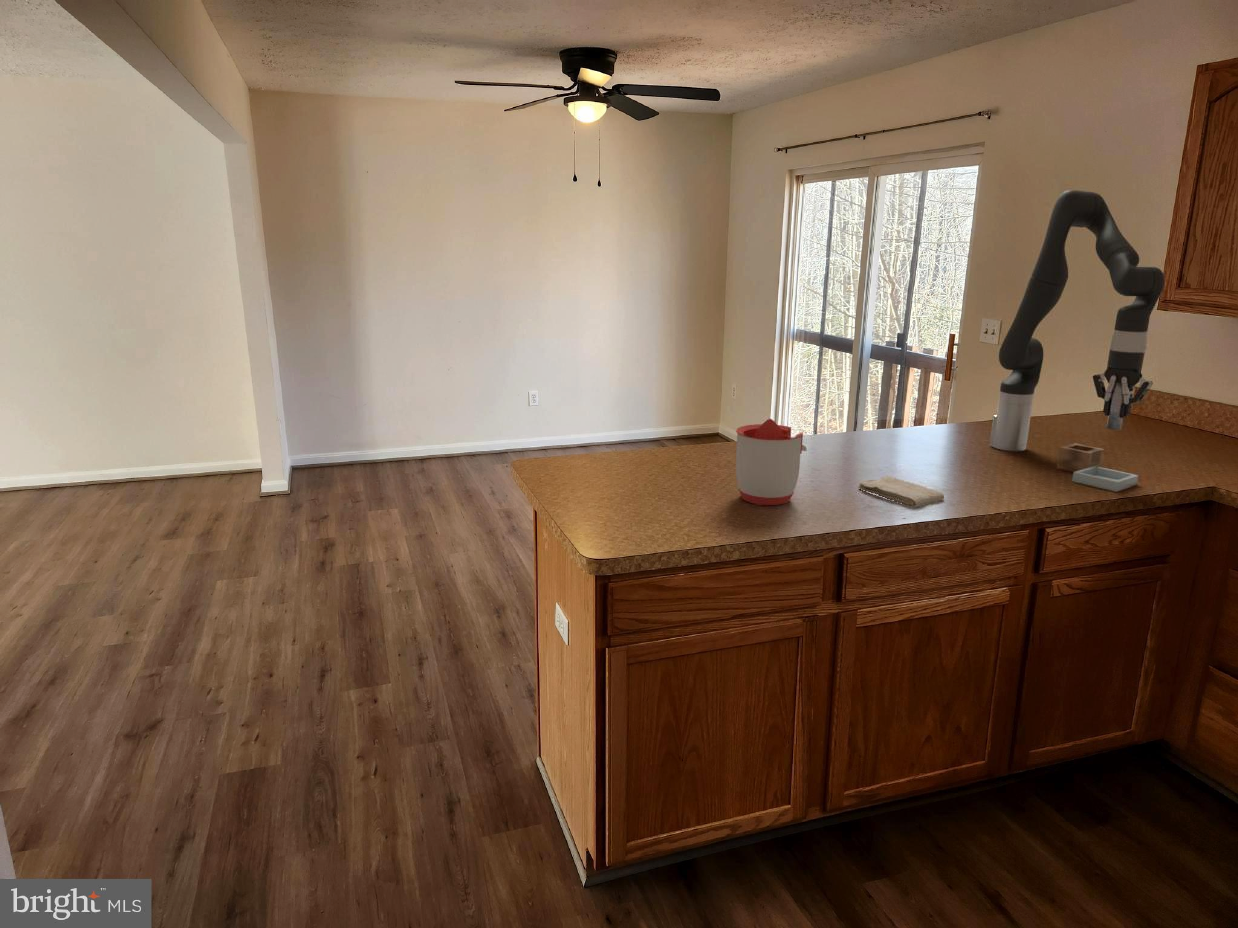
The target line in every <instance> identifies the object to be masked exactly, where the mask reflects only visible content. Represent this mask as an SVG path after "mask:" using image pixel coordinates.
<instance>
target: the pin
mask: <svg viewBox="0 0 1238 928" xmlns="http://www.w3.org/2000/svg"><path fill="white" fill-rule="evenodd" d="M1122 404H1124V395H1123V392H1122V383H1119V382H1115V385H1114V388H1113V393H1112V398H1111V404H1110V410H1109V416H1107V423H1106V429H1108V430H1113V431H1120V430H1122V426H1123V418H1120V415H1121V410H1122Z"/></svg>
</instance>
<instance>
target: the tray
mask: <svg viewBox="0 0 1238 928" xmlns="http://www.w3.org/2000/svg"><path fill="white" fill-rule="evenodd" d="M1071 480H1072V482H1075V483H1078V484H1082V485H1086V486H1091V487H1095V488H1099V489H1104V490H1108V491H1111V492H1115V493H1116V492H1119V491H1122V490H1126V489H1128V488H1132V487H1134V486H1137V485H1138V480H1139V475H1138V474H1133V473H1130V472H1125V471H1121V470H1115V469H1112V468H1111V469H1110V468H1106V467H1102V466H1101V467H1097V466H1092V467H1089V468H1086V469H1082V470H1079V471H1076V472H1073V473H1072V479H1071Z"/></svg>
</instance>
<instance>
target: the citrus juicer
mask: <svg viewBox="0 0 1238 928" xmlns="http://www.w3.org/2000/svg"><path fill="white" fill-rule="evenodd" d="M735 432H736V453H735V454H736V455H735V456H736V457H735V475H736V481H737V486H738V491H739V493H740V496H741V498H742V500H744V501H746V502H748V503H752V504H755V506H779V505H783V504H787V503H789V502H790V500H791V499H792V497H793V495H794V492H795V489H796V486H797V484H798V483H797V482H798V479H799V475H800V465H801V454H802V453H803V451H804V452H807V447H806V445H804V444H803V437H804V433H803V432H800V433H797V434H795V436H794V437H792V427H791V426H788V425H781V424H778V423H776V422H775V420H774V419H772V418H768V419H767V420H765V421H764V422H763V423H761V424H747V425H743V426H739V427H738V428H737V429H736V431H735Z"/></svg>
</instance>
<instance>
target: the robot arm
mask: <svg viewBox="0 0 1238 928" xmlns="http://www.w3.org/2000/svg"><path fill="white" fill-rule="evenodd" d="M1072 227H1074V228H1085V229H1086V230H1088V231H1090V232H1091V233H1092V234H1093V235H1094V236H1095V239H1096V240H1095V252H1096V254H1097V257H1098V258H1099V260H1100V262H1102V263H1103V265H1104V266H1105V267H1106V269H1107V270H1108V272H1109V276H1110V280H1111V284H1112V287H1113V289H1114V290H1115V292H1116V293H1118V294H1119V295H1121V296H1124V297H1135V298H1134V300H1133V302H1132V303H1131V304H1127V305H1124V306H1122V307H1119V309H1118V310H1117V311H1116V312H1117V313H1116V318H1115V322H1114V323H1115V324H1114V330H1113V334H1112V337H1111V340H1110V347H1109V352H1108V358H1107V359H1108V360H1107V367H1106V369H1105V371H1104V372H1103V373H1098V374H1093V376H1092V380H1093V383H1094V388H1095V391H1096V395H1097V398H1100V399H1103V400H1104V403H1103V409H1102V411H1103V412H1102V413H1104V416H1107V417H1108V416H1109V410H1110V404H1111V398H1112V393H1113V388H1114V385H1115V382H1119V383H1122V392H1123V395H1124V404H1122V410H1121V415H1120V418H1123V419H1127V418H1128V417H1130V415H1131V410H1132V405H1133V404H1136V403H1140V402H1141V401H1142V400H1143V399H1144V397H1145V396H1146V394H1147V393H1148V392H1149V390H1150V389H1151V387H1152V386H1153V381H1152V380H1148V379H1146V378H1144V377H1143V374H1142V370H1143V365H1144V364H1143V363H1144V359H1145V354H1146V350H1147V342H1148V330H1149V324H1150V317H1151V314H1152V312H1153V310H1154V308H1155V306H1156V304H1157V303H1158V300H1159V298H1160V296H1161V294H1162V292H1163V291H1164V286H1165V275H1164V273H1163V270H1162V269H1160V268H1159V267H1155V266H1139V262H1140V256H1139V254H1138V252H1137V250H1136V249H1135V248H1134V247H1133V246H1132V245H1131V244H1130V242H1129V241H1128V239H1126V238H1125V236H1124V235H1123V234H1122V232H1121V231H1120V229H1119V227H1118V225H1117V223H1116V221H1115V219H1114V217H1113V215H1112V213H1111V211H1110V209H1109V207H1108V205H1107V202H1106V201H1105V199H1104V198H1103V196H1101V194H1100V193H1098V192H1093V191H1085V190H1078V189H1068V190H1064V191H1063V192H1062V193H1061V194H1060V195H1059V197H1058V198H1057V199H1056V201H1055V203H1054V205H1053V208H1052V212H1051V215H1050V218H1049V221H1048V226H1047V230H1046V232H1045V237H1044V241H1043V244H1042V246H1041V249H1040V252H1039V255H1038V257H1037V260H1036V263H1035V265H1034V268H1033V270H1032V273H1031V275H1030V278H1029V280H1028V283H1027V286H1026V289H1025V292H1024V293H1023V297H1022V299H1021V302H1020V304H1019V306H1018V309H1017V312H1016V314H1015V317H1014V320H1013V321H1012V324H1011V325H1010V327H1009V329H1008V331H1007V333H1006V335H1005V337H1004V338H1003V340H1002V344H1001V345H1000V348H999V351H998V361H999V365H1001V367H1002V368H1003V369H1005V370H1009V371H1011V372H1010V373H1011V374H1009V376H1008V377H1007V378H1005V379H1004V380H1002V381H1001V383H1000V388H999V394H998V395H999V396H998V401H997V410H996V414H994V415H993V416H992V417H993V418H992V425H991V432H990V433H991V434H990V438H989V447H992V448H994V449H998V450H1001V451H1008V452H1009V451H1010V452H1023V451H1026V450H1027V445H1028V437H1029V430H1030V423H1031V416H1032V409H1033V402H1034V395H1035V390H1036V387H1037V385H1038V384H1039V382H1040V376H1041V371H1042V367H1043V361H1044V347H1043V345H1042V343H1041V341H1040V340H1038V339H1037V338H1034V337H1033V335H1034V333H1035V331H1036V329H1037V327H1038V326H1039V324H1040V323H1042V321H1043V320H1044V319H1045V318H1046V316H1048V314H1050V313H1051V312H1052V310H1053V309H1054V308H1055V306H1057V304H1058V302H1059V301H1060V299H1061V297H1062V295H1063V292H1064V289H1065V288H1066V285H1067V281H1068V278H1069V267H1068V261H1067V257H1066V250H1065V248H1066V241H1067V238H1068V234H1069V232H1070V230H1071V228H1072ZM1105 381H1107V383H1108V385H1107V388H1106V386H1105ZM1138 383H1139V384H1138ZM1137 384H1138V386H1139V388H1138V389H1137V392H1136V393H1135V386H1136V385H1137Z"/></svg>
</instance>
